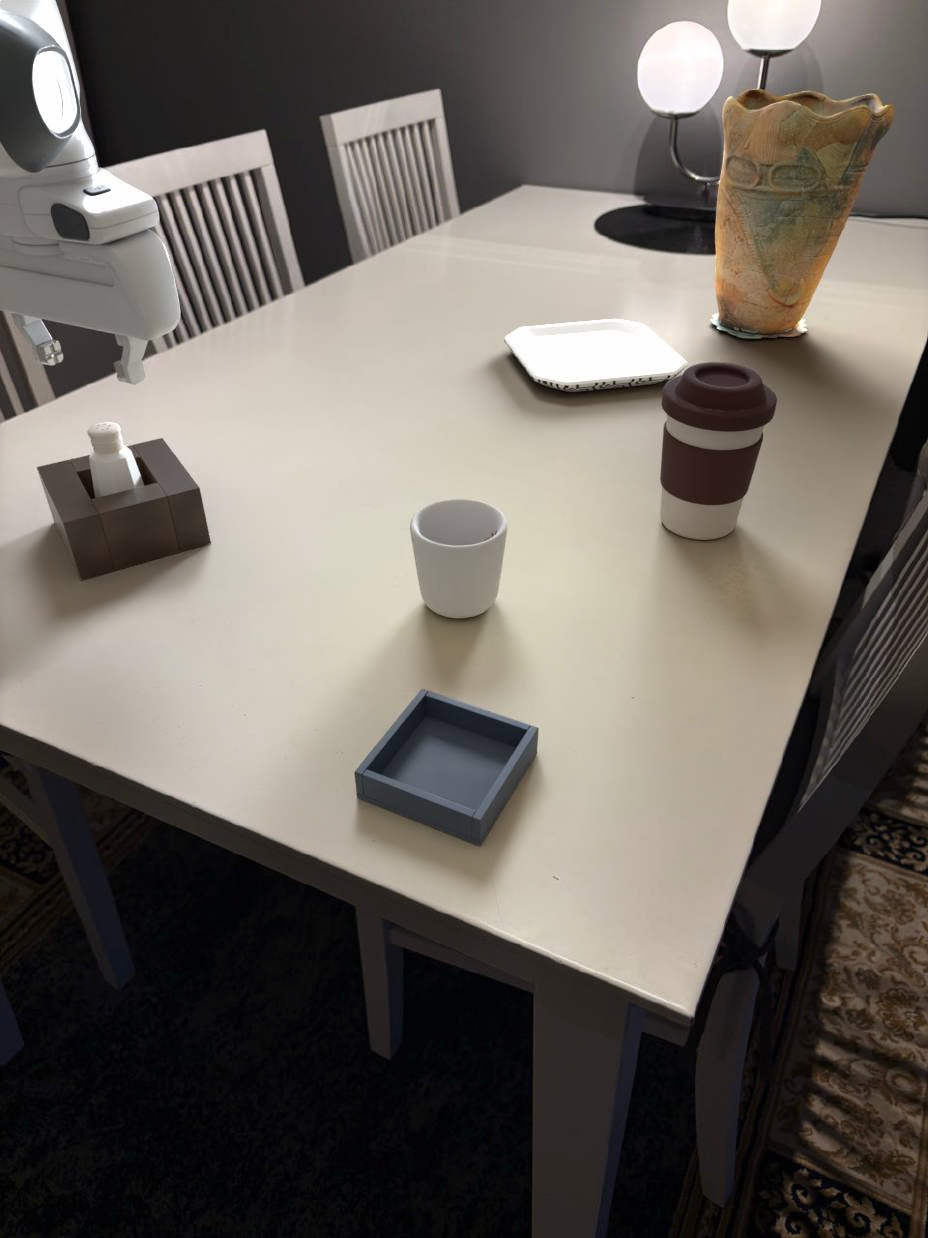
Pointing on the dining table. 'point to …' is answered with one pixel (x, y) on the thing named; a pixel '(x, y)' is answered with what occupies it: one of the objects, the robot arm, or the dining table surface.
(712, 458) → the coffee cup
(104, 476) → the pepper shaker
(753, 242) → the vase
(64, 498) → the holder
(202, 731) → the dining table surface
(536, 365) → the plate
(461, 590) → the cup
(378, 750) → the tray
